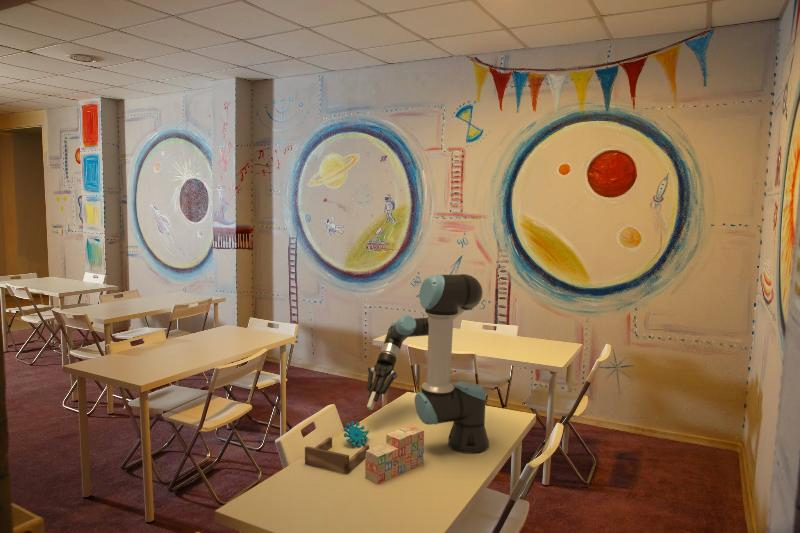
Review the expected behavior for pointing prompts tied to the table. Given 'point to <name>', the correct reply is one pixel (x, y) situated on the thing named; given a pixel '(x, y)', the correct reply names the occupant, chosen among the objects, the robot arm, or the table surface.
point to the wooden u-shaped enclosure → (333, 458)
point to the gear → (356, 434)
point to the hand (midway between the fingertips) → (369, 408)
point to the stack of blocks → (395, 454)
